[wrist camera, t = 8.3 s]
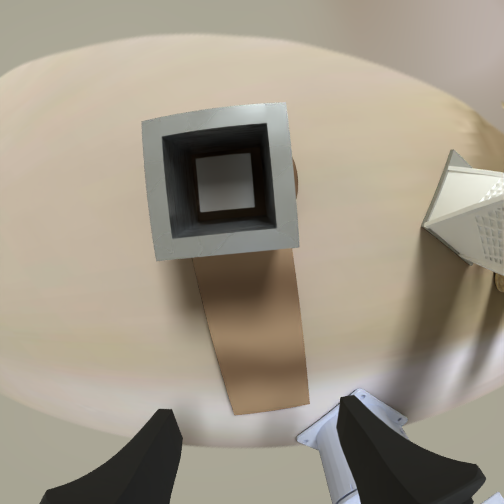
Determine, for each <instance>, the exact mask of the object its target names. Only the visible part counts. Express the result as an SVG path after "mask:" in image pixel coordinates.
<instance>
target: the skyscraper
mask: <svg viewBox="0 0 504 504" xmlns="http://www.w3.org/2000/svg"><path fill="white" fill-rule="evenodd" d="M421 226H422V227H423V228H424V229H426V230H427V231H428V232H430V233H431V234H432V235H433V236H435V237H436V238H437V239H439V240H440V241H441V242H442V243H444V244H445V245H446V246H447V247H449V248H450V249H451V250H452V251H453V252H455V253H456V254H457V255H458V256H459V257H461V258H462V259H463V260H464V261H465V262H466V263H468V264H469V265H471V266H472V265H473V263H475V264H477V265H479V266H482V267H484V268H486V269H489V270H491V271H493V272H495V273H498V274H501V275H503V276H504V173H502V172H496V171H489V170H482V169H474V168H472V167H471V166H470V165H469V164H468V163H467V162H466V161H465V160H464V159H463V158H462V157H461V156H460V155H459V154H458V153H457V152H456V151H455V150H451V151H450V154H449V157H448V160H447V163H446V166H445V168H444V171H443V174H442V177H441V179H440V182H439V185H438V187H437V190H436V192H435V195H434V197H433V200H432V202H431V205H430V207H429V209H428V212H427V214H426V216H425V218H424V221H423V223H422V225H421Z"/></svg>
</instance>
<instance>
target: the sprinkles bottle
mask: <svg viewBox="0 0 504 504" xmlns="http://www.w3.org/2000/svg"><path fill="white" fill-rule="evenodd" d="M495 283H496V286H497V289H498V290H499V291H500V292H503V293H504V276H503V275H501V274H498V273H496V274H495Z"/></svg>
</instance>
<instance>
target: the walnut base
mask: <svg viewBox="0 0 504 504" xmlns="http://www.w3.org/2000/svg"><path fill="white" fill-rule="evenodd" d="M292 160H293V158H292ZM192 165H193V176H194V186H195V196H196V205H197V214H198V222H200V221H209V220H218V219H228V218H238V217H248V216H258V215H266V204H265V193H264V182H263V172H262V162H261V152H260V147H253V148H242V149H232V150H223V151H215V152H207V153H200V154H193V155H192ZM293 171H294V181H295V193H296V199H297V193H298V176H297V170H296V166H295V163H294V160H293ZM192 260H193V264H194V268H195V273H196V277H197V281H198V286H199V290H200V294H201V298H202V302H203V306H204V310H205V314H206V318H207V322H208V326H209V330H210V333H211V337H212V341H213V344H214V348H215V352H216V355H217V359H218V362H219V366H220V369H221V373H222V376H223V379H224V383H225V386H226V389H227V393H228V396H229V399H230V402H231V406H232V409H233V412H234V415H242V414H251V413H259V412H266V411H273V410H279V409H285V408H291V407H297V406H302V405H307V404H310V401H309V390H308V379H307V368H306V358H305V348H304V339H303V330H302V321H301V313H300V305H299V297H298V289H297V281H296V274H295V266H294V259H293V252H292V248H287V249H277V250H266V251H256V252H246V253H235V254H225V255H214V256H204V257H194V258H192Z"/></svg>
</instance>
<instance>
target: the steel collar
mask: <svg viewBox="0 0 504 504" xmlns="http://www.w3.org/2000/svg"><path fill="white" fill-rule="evenodd" d="M142 141H143V156H144V169H145V180H146V190H147V199H148V208H149V216H150V223H151V231H152V237H153V244H154V250H155V257H156V261H163V260H173V259H183V258H194V257H204V256H214V255H225V254H235V253H246V252H256V251H266V250H277V249H287V248H298V247H299V232H298V218H297V205H296V193H295V181H294V171H293V160H292V151H291V141H290V132H289V124H288V115H287V107H286V102H283V103H264V104H250V105H239V106H230V107H221V108H213V109H206V110H199V111H192V112H186V113H180V114H175V115H170V116H164V117H160V118H155V119H150V120H146V121H142ZM253 147H260V152H261V162H262V172H263V182H264V193H265V204H266V215H258V216H248V217H238V218H228V219H218V220H209V221H200V222H198V214H197V205H196V196H195V186H194V176H193V165H192V155H193V154H200V153H207V152H215V151H223V150H232V149H242V148H253Z"/></svg>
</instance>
